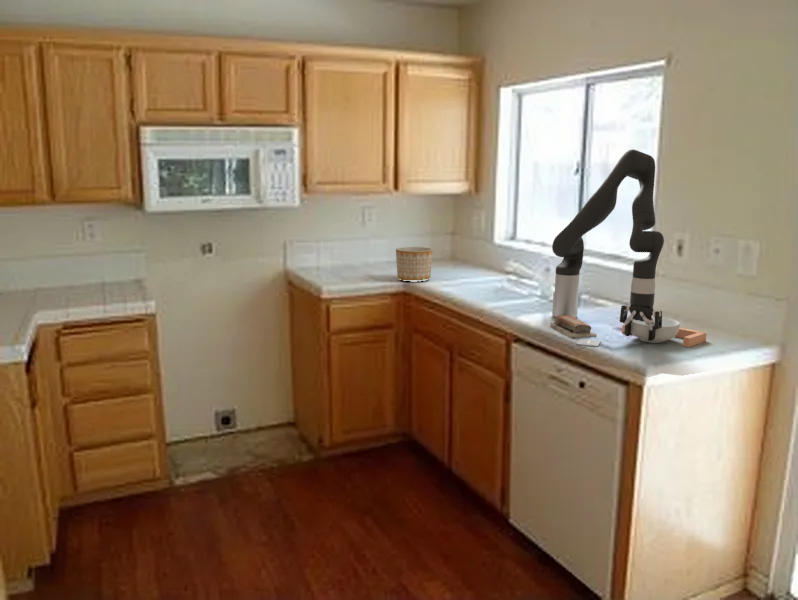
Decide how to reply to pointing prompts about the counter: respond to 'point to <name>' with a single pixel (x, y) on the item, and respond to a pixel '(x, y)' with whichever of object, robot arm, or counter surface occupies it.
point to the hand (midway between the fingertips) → (639, 338)
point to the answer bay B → (687, 336)
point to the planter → (414, 263)
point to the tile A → (588, 342)
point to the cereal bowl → (662, 334)
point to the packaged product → (572, 326)
